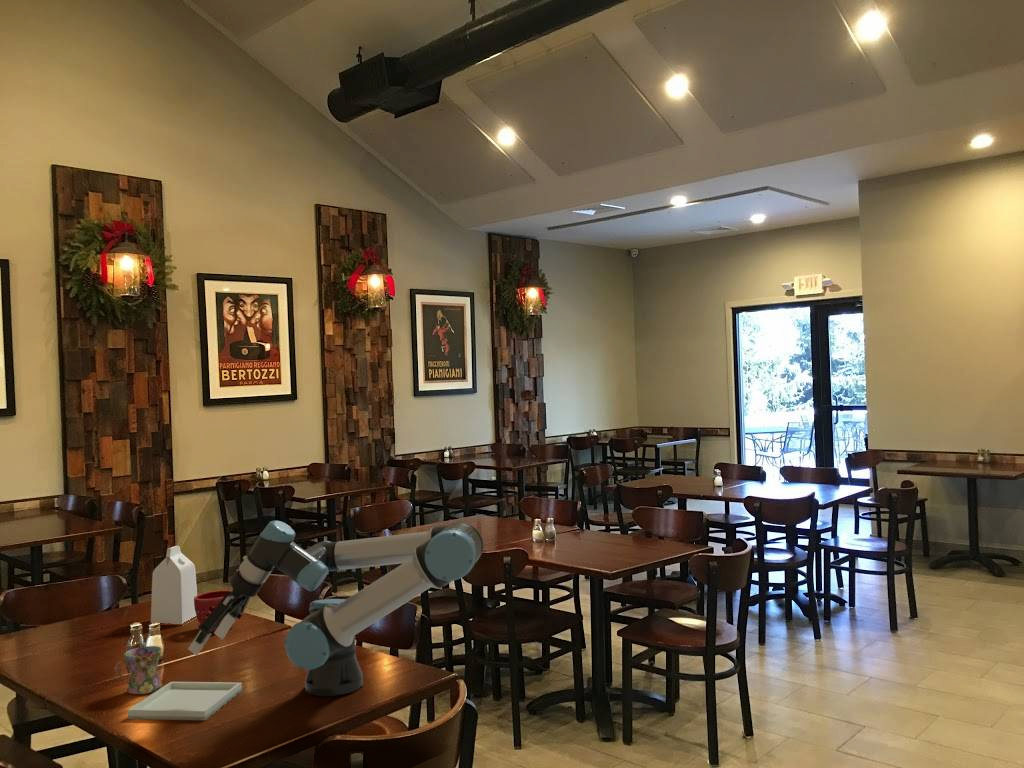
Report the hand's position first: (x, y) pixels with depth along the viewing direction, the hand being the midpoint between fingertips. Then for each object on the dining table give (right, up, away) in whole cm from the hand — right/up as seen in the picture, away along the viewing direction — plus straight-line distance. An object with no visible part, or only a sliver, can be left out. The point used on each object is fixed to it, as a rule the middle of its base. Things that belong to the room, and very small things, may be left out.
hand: (206, 643), depth 214 cm
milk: (-41, -18, +82) cm, 93 cm away
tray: (-5, -15, 0) cm, 16 cm away
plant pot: (-22, -17, +69) cm, 75 cm away
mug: (-22, -16, +10) cm, 29 cm away
